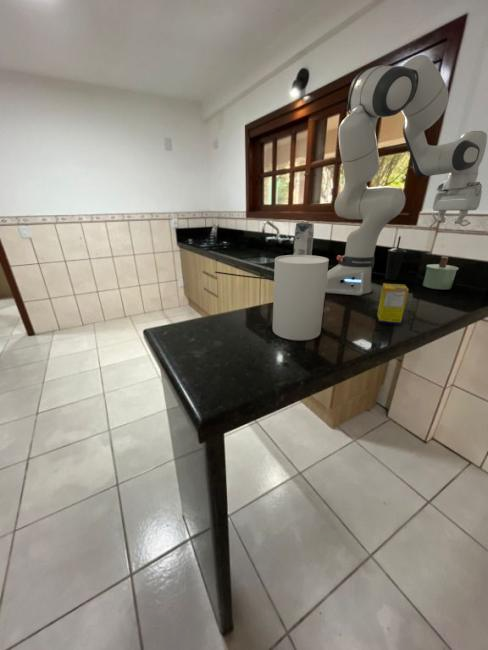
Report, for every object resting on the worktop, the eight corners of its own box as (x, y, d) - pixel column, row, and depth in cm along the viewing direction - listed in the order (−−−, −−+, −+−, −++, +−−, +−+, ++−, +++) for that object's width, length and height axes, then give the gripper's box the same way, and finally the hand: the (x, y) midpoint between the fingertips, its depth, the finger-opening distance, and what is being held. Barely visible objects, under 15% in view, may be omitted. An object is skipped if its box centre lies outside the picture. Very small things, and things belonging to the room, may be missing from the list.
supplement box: (396, 318, 82) (405, 284, 78) (400, 325, 77) (409, 289, 73) (376, 316, 84) (382, 282, 80) (378, 323, 79) (385, 287, 75)
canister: (262, 328, 76) (264, 258, 68) (294, 317, 84) (299, 253, 76) (297, 345, 66) (304, 266, 58) (330, 331, 74) (339, 259, 66)
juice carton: (310, 270, 149) (315, 219, 138) (308, 274, 140) (312, 220, 129) (295, 269, 152) (298, 219, 141) (291, 273, 143) (294, 220, 132)
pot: (428, 290, 111) (434, 270, 107) (418, 284, 120) (423, 265, 116) (455, 291, 109) (462, 270, 106) (442, 284, 118) (448, 265, 115)
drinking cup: (402, 280, 126) (413, 237, 118) (386, 280, 126) (396, 237, 118) (394, 277, 133) (403, 235, 125) (379, 277, 133) (387, 235, 125)
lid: (433, 271, 107) (436, 259, 105) (421, 266, 117) (424, 254, 115) (463, 272, 105) (468, 259, 103) (448, 267, 115) (452, 255, 113)
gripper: (492, 181, 90) (478, 224, 95) (449, 186, 109) (440, 222, 114) (473, 181, 90) (460, 224, 95) (434, 186, 109) (425, 222, 114)
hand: (449, 223), depth 105 cm, fingers open, 8 cm apart
